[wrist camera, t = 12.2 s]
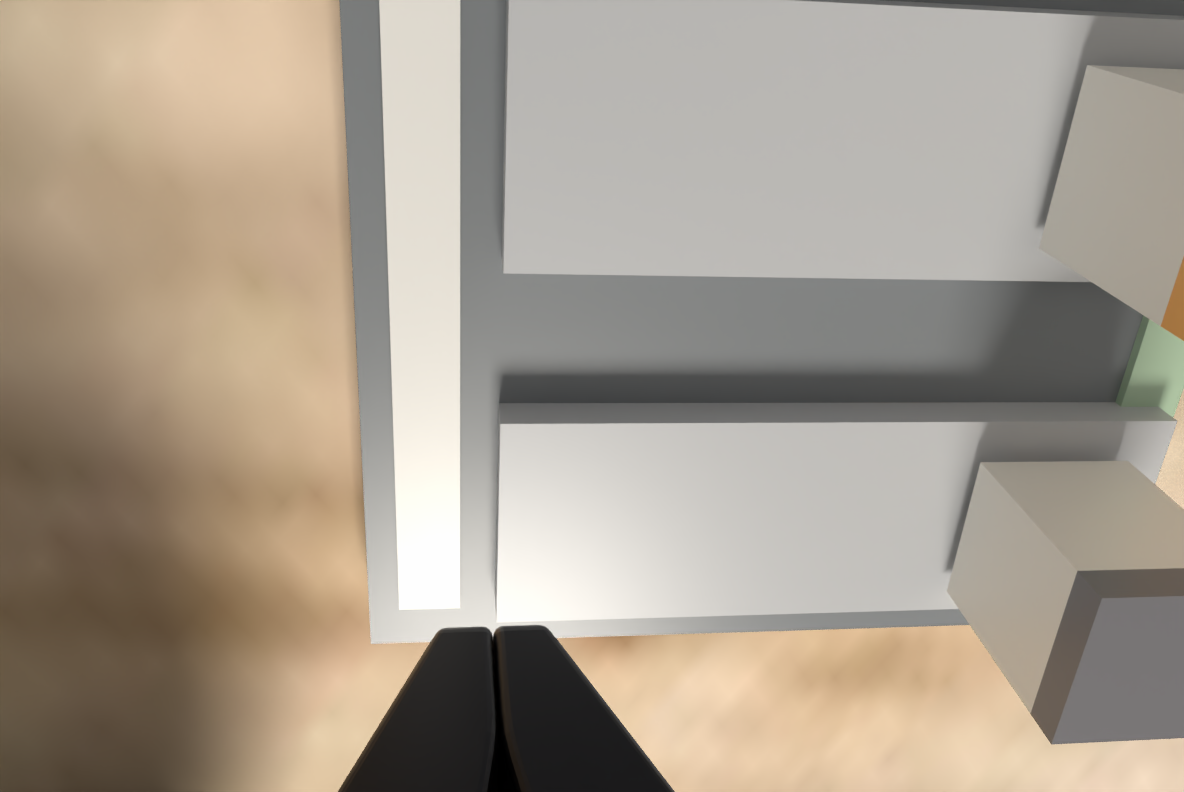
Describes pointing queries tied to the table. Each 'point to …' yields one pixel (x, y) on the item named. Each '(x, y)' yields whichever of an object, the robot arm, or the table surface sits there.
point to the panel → (721, 302)
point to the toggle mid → (1125, 190)
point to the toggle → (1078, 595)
